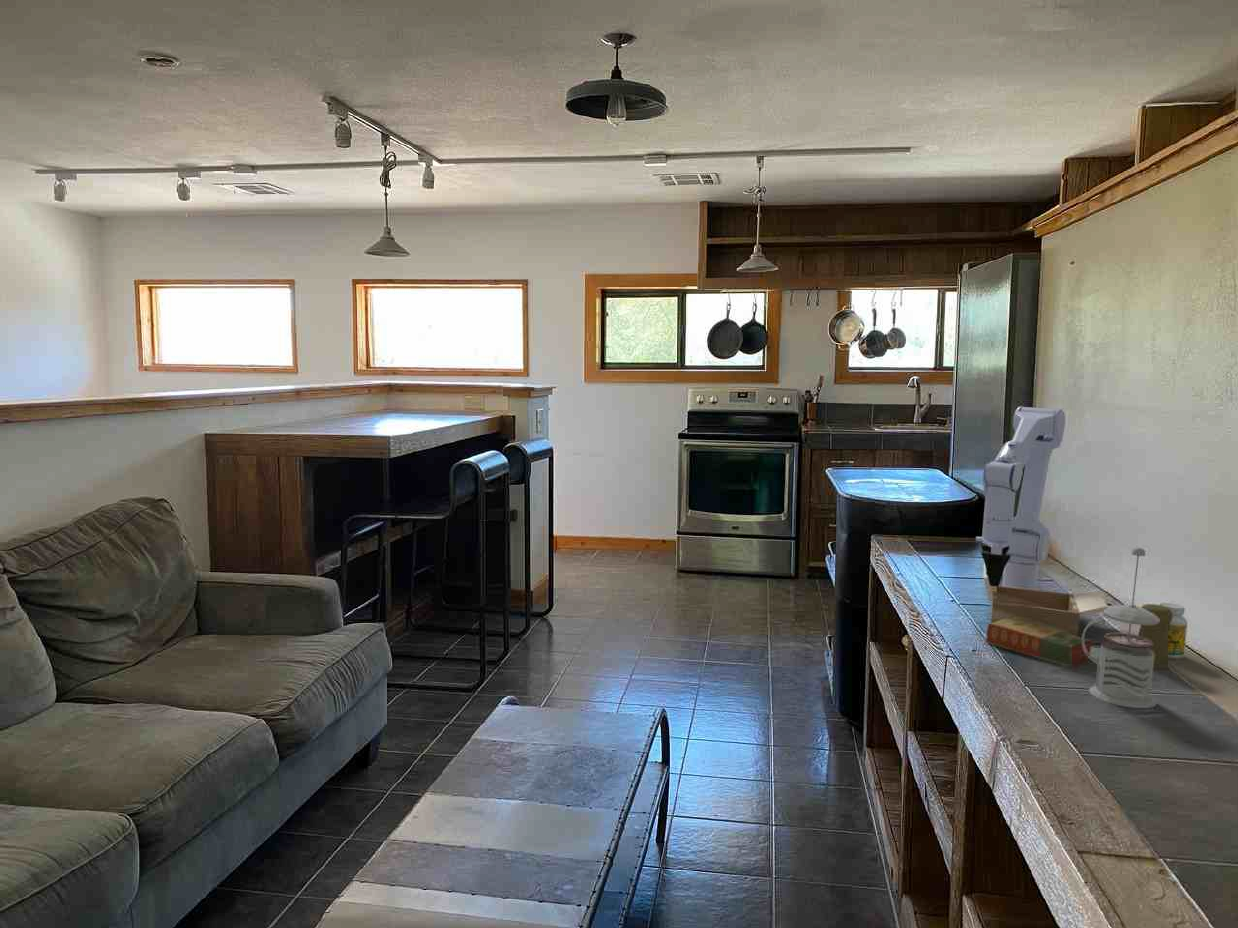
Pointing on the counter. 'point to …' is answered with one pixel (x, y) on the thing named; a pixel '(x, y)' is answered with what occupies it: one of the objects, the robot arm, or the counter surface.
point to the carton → (1038, 641)
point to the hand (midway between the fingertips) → (992, 581)
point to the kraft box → (1036, 608)
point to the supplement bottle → (1176, 630)
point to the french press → (1125, 657)
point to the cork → (1158, 635)
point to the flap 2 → (1090, 602)
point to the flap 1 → (988, 586)
